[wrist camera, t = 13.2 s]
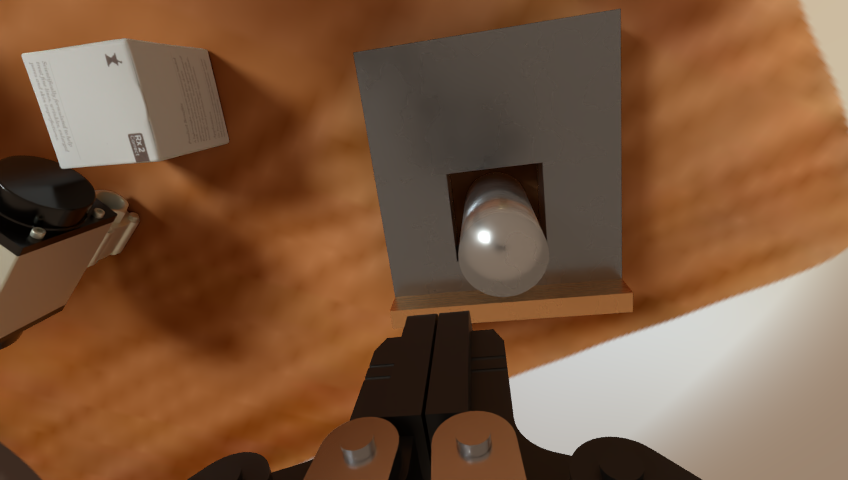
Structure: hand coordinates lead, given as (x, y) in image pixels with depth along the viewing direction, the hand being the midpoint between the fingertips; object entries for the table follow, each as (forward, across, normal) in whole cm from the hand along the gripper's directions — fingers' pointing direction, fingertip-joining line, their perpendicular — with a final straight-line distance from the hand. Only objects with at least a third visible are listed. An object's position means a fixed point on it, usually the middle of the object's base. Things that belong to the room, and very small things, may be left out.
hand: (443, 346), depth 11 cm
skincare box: (+20, +18, -8) cm, 28 cm away
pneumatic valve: (+20, +26, -1) cm, 33 cm away
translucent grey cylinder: (+20, -2, +2) cm, 20 cm away
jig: (+20, -2, 0) cm, 20 cm away
